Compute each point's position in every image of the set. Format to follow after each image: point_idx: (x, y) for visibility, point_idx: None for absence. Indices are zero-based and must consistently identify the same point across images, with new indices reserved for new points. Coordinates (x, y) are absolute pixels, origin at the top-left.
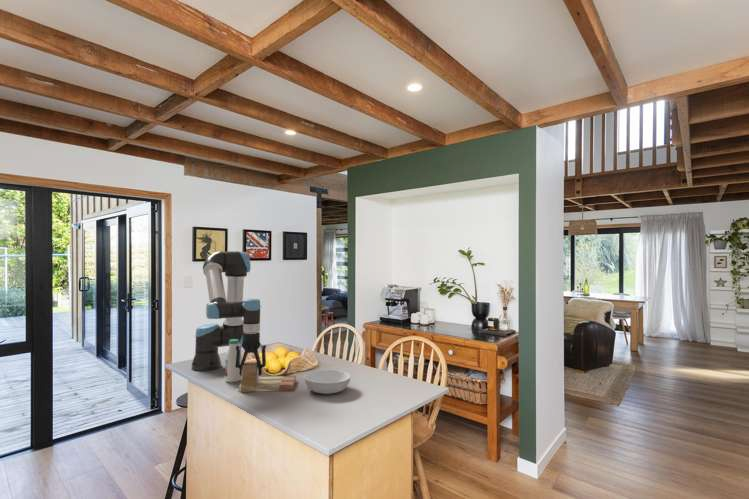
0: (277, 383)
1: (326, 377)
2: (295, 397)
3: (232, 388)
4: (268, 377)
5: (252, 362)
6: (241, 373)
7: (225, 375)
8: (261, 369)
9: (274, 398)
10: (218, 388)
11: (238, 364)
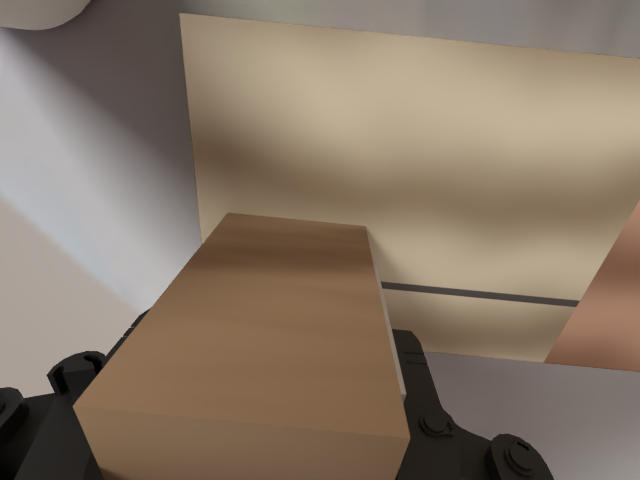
0: (542, 321)
1: None
2: (584, 429)
3: (145, 222)
4: (491, 100)
5: (257, 454)
6: None
7: None
8: (430, 402)
9: (462, 424)
10: (23, 204)
11: (3, 463)
